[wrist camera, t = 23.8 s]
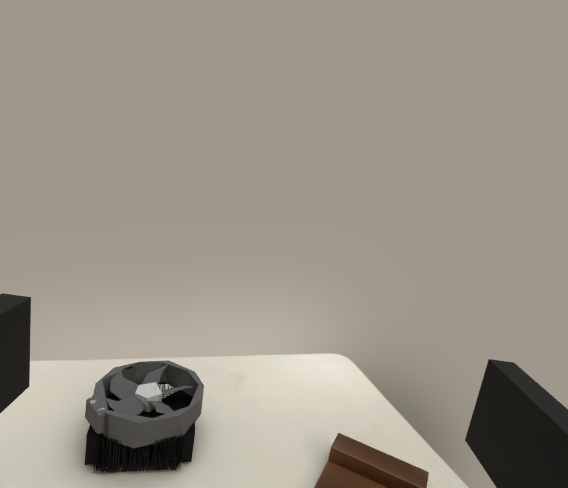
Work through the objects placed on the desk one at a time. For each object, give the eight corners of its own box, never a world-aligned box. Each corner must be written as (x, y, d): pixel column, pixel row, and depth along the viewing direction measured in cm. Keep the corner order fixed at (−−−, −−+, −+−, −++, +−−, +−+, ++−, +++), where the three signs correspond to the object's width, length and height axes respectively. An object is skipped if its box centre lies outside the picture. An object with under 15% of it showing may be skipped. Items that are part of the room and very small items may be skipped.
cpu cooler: (203, 360, 44) (205, 420, 34) (197, 404, 45) (197, 475, 36) (103, 356, 42) (76, 420, 32) (100, 404, 43) (72, 479, 33)
